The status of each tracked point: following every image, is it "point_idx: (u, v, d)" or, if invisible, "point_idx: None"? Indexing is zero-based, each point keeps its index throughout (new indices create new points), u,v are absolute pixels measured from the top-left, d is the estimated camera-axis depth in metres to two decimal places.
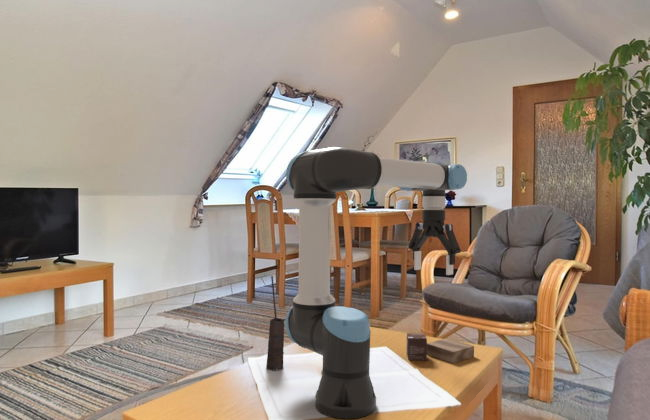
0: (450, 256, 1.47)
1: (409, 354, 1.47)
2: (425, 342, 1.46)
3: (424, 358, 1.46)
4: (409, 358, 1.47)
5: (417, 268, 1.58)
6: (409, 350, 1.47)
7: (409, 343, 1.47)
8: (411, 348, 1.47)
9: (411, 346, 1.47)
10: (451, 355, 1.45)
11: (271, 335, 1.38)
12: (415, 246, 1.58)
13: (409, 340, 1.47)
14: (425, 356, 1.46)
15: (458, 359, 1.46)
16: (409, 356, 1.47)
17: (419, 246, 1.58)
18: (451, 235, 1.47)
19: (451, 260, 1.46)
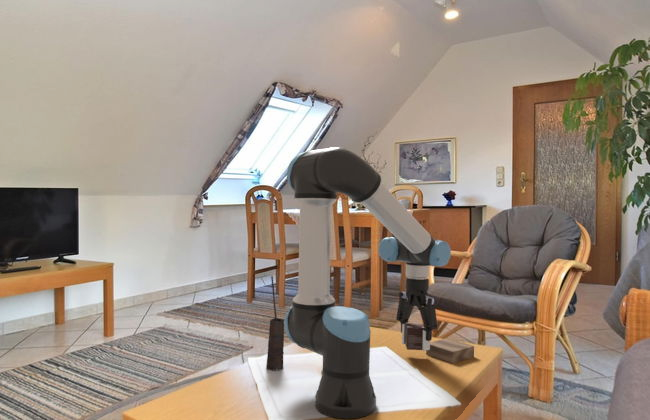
0: (427, 332, 1.45)
1: (408, 343, 1.46)
2: None
3: None
4: (408, 347, 1.46)
5: None
6: (408, 339, 1.46)
7: (408, 332, 1.46)
8: (410, 337, 1.46)
9: (410, 335, 1.46)
10: (450, 355, 1.45)
11: (271, 335, 1.38)
12: (402, 318, 1.52)
13: (408, 329, 1.46)
14: None
15: (458, 359, 1.46)
16: (408, 345, 1.46)
17: (406, 317, 1.53)
18: (431, 310, 1.44)
19: (427, 336, 1.44)
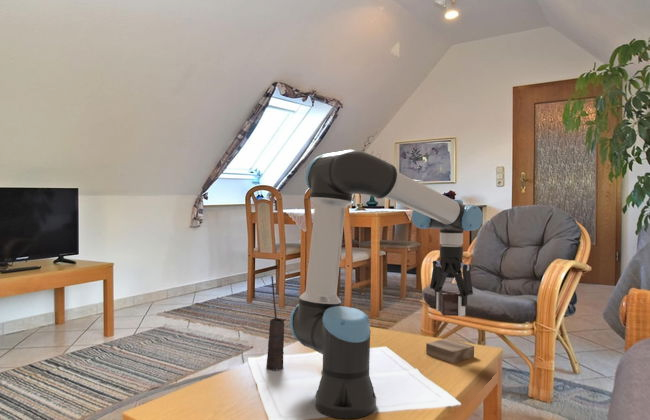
0: (462, 298, 1.47)
1: (444, 310, 1.49)
2: None
3: None
4: (444, 313, 1.49)
5: (439, 309, 1.55)
6: (444, 306, 1.49)
7: (444, 299, 1.49)
8: (446, 304, 1.49)
9: (446, 302, 1.49)
10: (450, 355, 1.45)
11: (271, 335, 1.38)
12: (436, 286, 1.55)
13: (444, 296, 1.49)
14: None
15: (458, 359, 1.46)
16: (444, 311, 1.49)
17: (440, 285, 1.55)
18: (467, 276, 1.46)
19: (463, 302, 1.47)
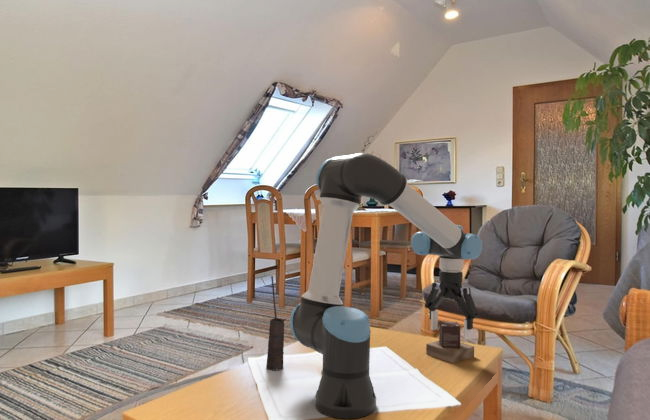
0: (468, 321, 1.46)
1: (443, 341, 1.49)
2: (459, 330, 1.49)
3: (458, 345, 1.49)
4: (443, 345, 1.49)
5: (434, 328, 1.57)
6: (443, 337, 1.49)
7: (443, 331, 1.49)
8: (445, 335, 1.49)
9: (445, 333, 1.49)
10: (450, 356, 1.45)
11: (271, 335, 1.38)
12: (432, 306, 1.57)
13: (443, 328, 1.49)
14: (459, 343, 1.49)
15: (458, 359, 1.46)
16: (443, 343, 1.49)
17: (436, 306, 1.57)
18: (469, 299, 1.46)
19: (469, 325, 1.45)
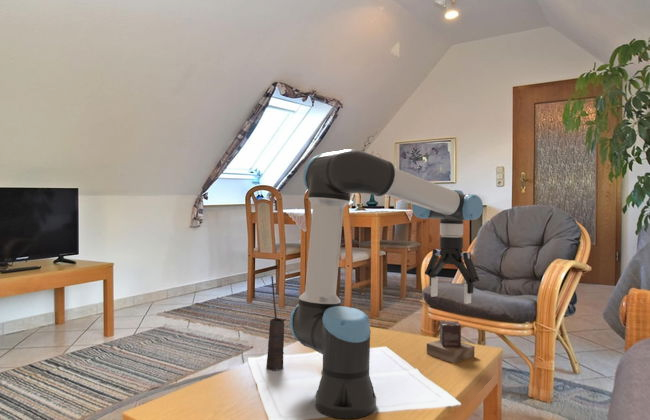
0: (468, 285, 1.46)
1: (443, 341, 1.50)
2: (459, 329, 1.49)
3: (458, 344, 1.49)
4: (443, 345, 1.50)
5: (434, 295, 1.57)
6: (443, 337, 1.50)
7: (443, 330, 1.50)
8: (445, 335, 1.50)
9: (445, 333, 1.50)
10: (450, 355, 1.45)
11: (271, 335, 1.38)
12: (432, 272, 1.57)
13: (443, 327, 1.50)
14: (459, 343, 1.49)
15: (458, 359, 1.46)
16: (443, 343, 1.50)
17: (436, 273, 1.57)
18: (469, 263, 1.46)
19: (469, 289, 1.45)
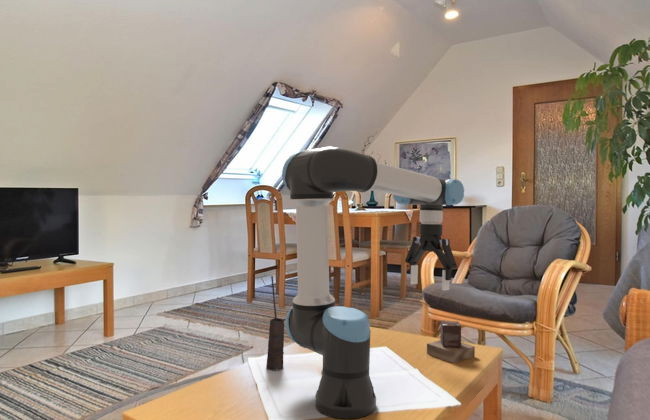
0: (446, 271, 1.45)
1: (444, 341, 1.50)
2: (459, 329, 1.49)
3: (459, 345, 1.49)
4: (444, 345, 1.50)
5: (413, 282, 1.56)
6: (444, 337, 1.50)
7: (444, 330, 1.50)
8: (446, 335, 1.50)
9: (446, 333, 1.50)
10: (451, 356, 1.45)
11: (271, 335, 1.38)
12: (412, 260, 1.56)
13: (444, 327, 1.50)
14: (460, 343, 1.49)
15: (458, 359, 1.46)
16: (444, 343, 1.50)
17: (416, 260, 1.56)
18: (447, 250, 1.45)
19: (447, 275, 1.45)
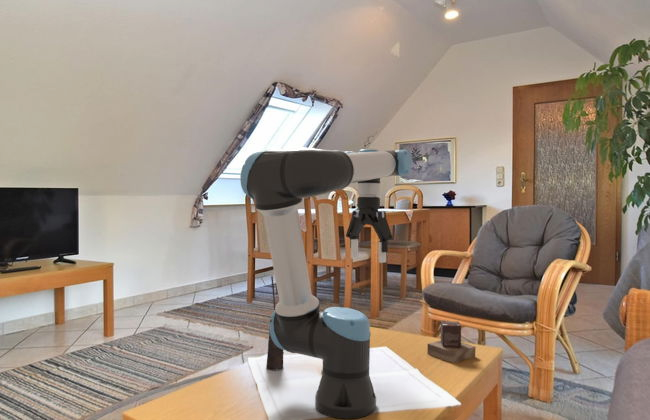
0: (382, 243, 1.44)
1: (443, 341, 1.50)
2: (459, 329, 1.49)
3: (458, 345, 1.49)
4: (443, 345, 1.50)
5: (354, 257, 1.56)
6: (443, 337, 1.50)
7: (443, 330, 1.50)
8: (445, 335, 1.50)
9: (445, 333, 1.50)
10: (451, 356, 1.45)
11: None
12: (352, 234, 1.56)
13: (443, 327, 1.50)
14: (459, 343, 1.49)
15: (459, 359, 1.46)
16: (443, 343, 1.50)
17: (356, 234, 1.56)
18: (383, 222, 1.44)
19: (383, 248, 1.44)
